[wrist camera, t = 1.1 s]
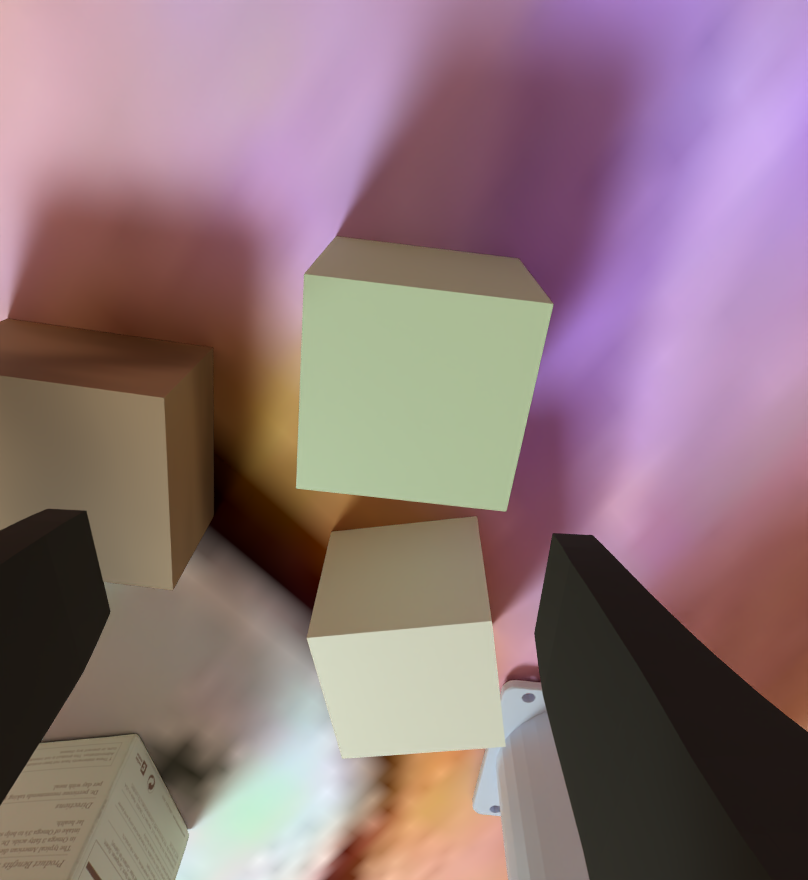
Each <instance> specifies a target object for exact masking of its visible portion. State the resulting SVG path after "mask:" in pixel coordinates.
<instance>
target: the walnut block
mask: <svg viewBox="0 0 808 880" xmlns="http://www.w3.org/2000/svg"><path fill="white" fill-rule="evenodd" d="M45 509H66V510H86V511H87V515H88V519H89V523H90V528H91V532H92V536H93V540H94V545H95V549H96V553H97V557H98V561H99V566H100V570H101V574H102V578H103V582H109V583H117V584H125V585H133V586H141V587H149V588H157V589H165V590H173V589H174V588H175V586H176V584H177V582H178V580H179V578H180V577H181V575H182V573H183V571H184V569H185V567H186V566H187V564H188V562H189V560H190V558H191V556H192V555H193V553H194V551H195V549H196V547H197V545H198V544H199V542H200V540H201V538H202V536H203V534H204V533H205V531H206V529H207V527H208V525H209V524H210V522H211V520H212V518H213V516H214V396H213V347H206V346H199V345H192V344H185V343H177V342H170V341H163V340H156V339H149V338H142V337H135V336H128V335H121V334H114V333H107V332H99V331H92V330H85V329H78V328H71V327H64V326H57V325H50V324H43V323H36V322H29V321H21V320H14V319H5V320H3V321H1V322H0V530H2V529H4V528H6V527H8V526H10V525H12V524H14V523H16V522H18V521H20V520H23V519H25V518H27V517H29V516H31V515H33V514H36V513H38V512H41V511H43V510H45Z"/></svg>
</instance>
